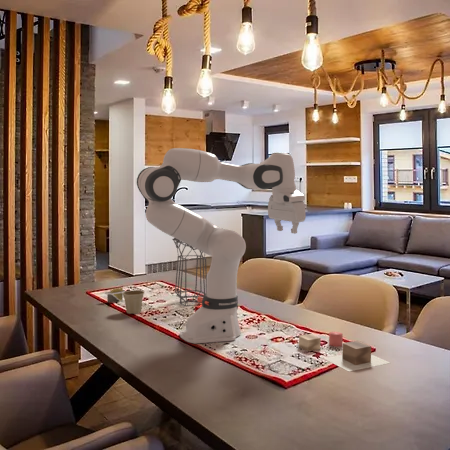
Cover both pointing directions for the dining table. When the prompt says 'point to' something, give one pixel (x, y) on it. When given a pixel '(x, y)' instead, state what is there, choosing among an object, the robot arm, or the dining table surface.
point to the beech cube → (309, 342)
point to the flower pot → (133, 301)
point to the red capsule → (335, 339)
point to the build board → (351, 367)
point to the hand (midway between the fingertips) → (287, 231)
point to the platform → (115, 294)
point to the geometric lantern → (185, 274)
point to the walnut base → (356, 352)
